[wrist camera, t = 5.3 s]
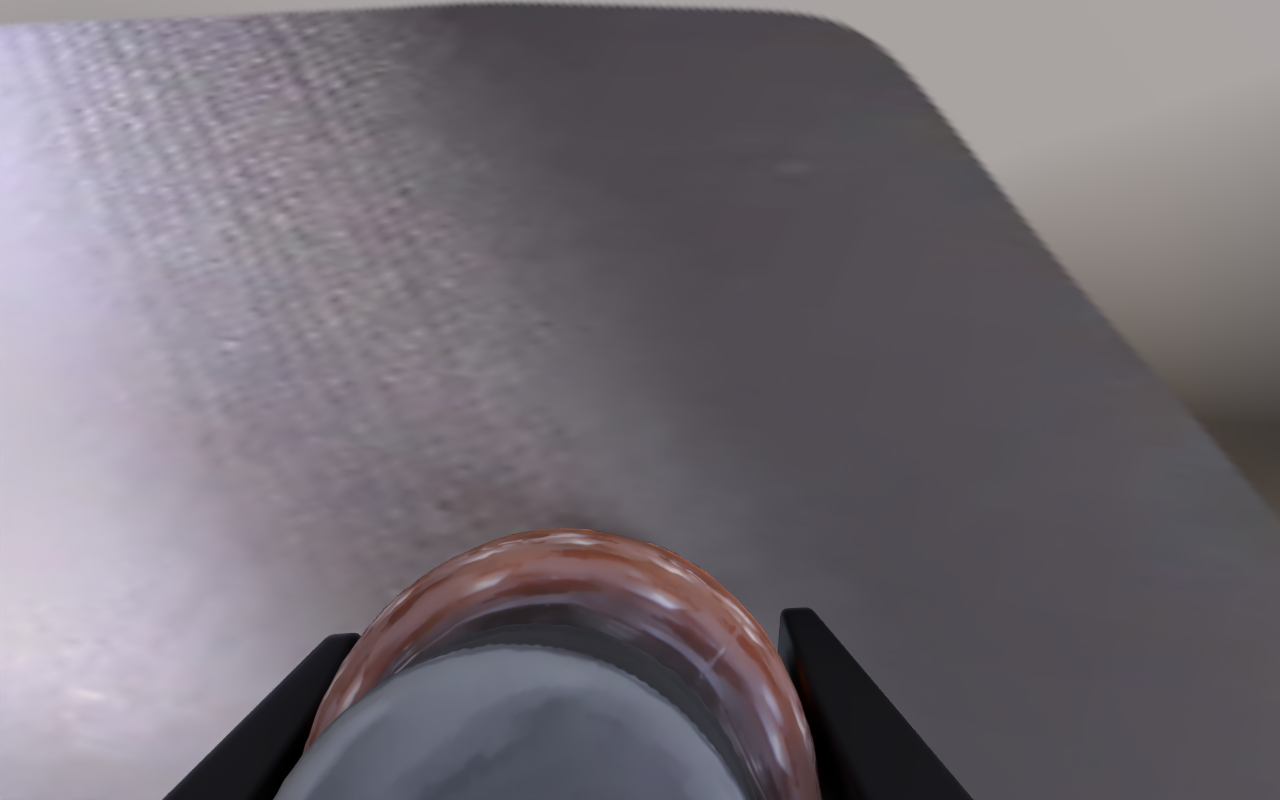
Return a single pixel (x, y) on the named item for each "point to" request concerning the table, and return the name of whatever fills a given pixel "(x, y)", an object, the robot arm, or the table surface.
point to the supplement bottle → (560, 686)
